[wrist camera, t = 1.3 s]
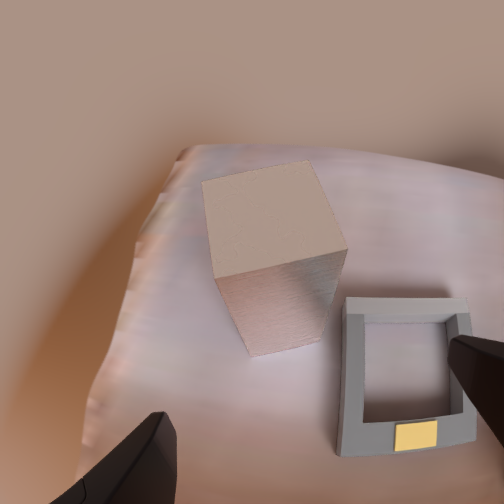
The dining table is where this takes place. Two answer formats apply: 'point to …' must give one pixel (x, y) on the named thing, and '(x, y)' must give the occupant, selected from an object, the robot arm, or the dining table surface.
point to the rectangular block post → (274, 254)
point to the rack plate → (353, 375)
